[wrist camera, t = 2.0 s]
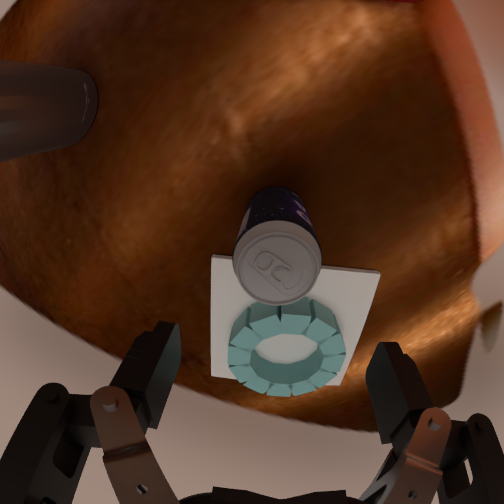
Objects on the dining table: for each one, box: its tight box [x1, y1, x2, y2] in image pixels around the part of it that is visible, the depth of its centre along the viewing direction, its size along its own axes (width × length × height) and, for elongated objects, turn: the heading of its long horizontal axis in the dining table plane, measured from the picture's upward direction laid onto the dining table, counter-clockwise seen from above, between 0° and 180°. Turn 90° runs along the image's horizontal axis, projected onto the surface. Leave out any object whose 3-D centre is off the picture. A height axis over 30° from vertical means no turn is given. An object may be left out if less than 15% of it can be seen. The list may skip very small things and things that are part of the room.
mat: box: [211, 254, 381, 385], centre depth 33 cm, size 18×18×1 cm
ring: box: [227, 297, 346, 397], centre depth 32 cm, size 13×13×4 cm
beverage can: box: [232, 187, 322, 306], centre depth 22 cm, size 6×6×12 cm
